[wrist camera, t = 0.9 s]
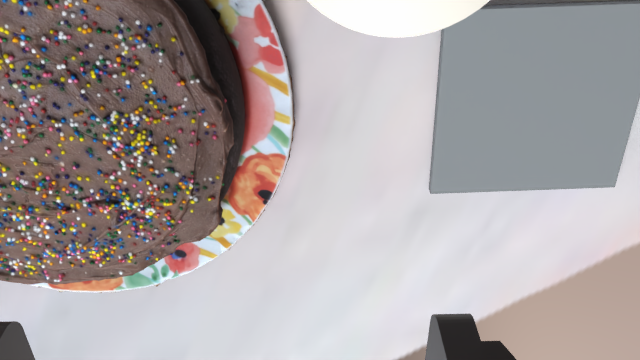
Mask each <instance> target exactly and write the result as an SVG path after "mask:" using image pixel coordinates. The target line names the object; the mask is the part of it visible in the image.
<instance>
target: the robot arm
mask: <svg viewBox="0 0 640 360" xmlns="http://www.w3.org/2000/svg"><path fill="white" fill-rule="evenodd" d="M0 360H35V358H34V356H33V353H32V350H31V348H30V345H29V343H28V340H27V338H26V335H25V333H24V330H23V328H22V326H21V324H20V323H18V322H0ZM425 360H516V359H515V358H514V356H513V355H512V354H511V353H510V352H509V351H508V350H507V348H506V347H505V346H504V345H503V344H502V343H501V342H500V341H481V340H480V337H479V334H478V331H477V328H476V324H475V321H474V319H473V317H472V315H471V314H434V315H432V317H431V321H430V327H429V335H428V342H427V349H426V357H425Z"/></svg>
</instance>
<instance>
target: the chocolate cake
mask: <svg viewBox="0 0 640 360" xmlns="http://www.w3.org/2000/svg"><path fill="white" fill-rule="evenodd" d="M294 126H295V120H294V104H293V98H292V78H291V76H290V74H289V70H288V65H287V56H286V55H285V54H284V51H283V48H282V46H281V44H280V40H279V36H278V32H277V29H276V27H275V25H274V23H273V21H272V19H271V17H270V15H269V12H268V10H267V9H266V7H265V5H264V3H263V0H0V280H2V281H7V282H15V283H23V284H29V285H32V286H38V287H47V288H50V289H54V290H58V291H59V292H63V291H74V292H97V293H102V292H119V291H122V290H131V289H138V288H144V287H149V286H152V285H154V286H158V285H159V284H161V283H163V282H164V281H166V279H173V278H176V277H178V276H181V275H184V274H187V273H190V272H192V271H193V270H195V269H197V268H199V267H201V266H202V265H204V264H206V263H207V262H209V261H211V260H213V259H215V258H216V257H218V256H219V255H220V254H221V253H223V252H224V251H226V250H229V249H230V248H231V247H232V246H233V245H234V244H235V243H236V242H237V241H238V239H239V238H241V237H242V236H243V235H244V234H245V233H246V232H247V231H248V230H249V229H250V228H251V227H252V226H253V225H254V223H255V222H256V221H257V220H258V219H259V217H260V216H261V214H262V213H263V211H264V210H265V208H266V206H267V205H268V203H269V201H270V200H271V199H272V198H273V196H274V194H275V192H276V190H277V188H278V186H279V183H280V181H281V179H282V176H283V174H284V171H285V168H286V164H287V162H288V160H289V157H290V150H291V143H292V141H293V130H294Z"/></svg>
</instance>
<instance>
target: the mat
mask: <svg viewBox="0 0 640 360" xmlns="http://www.w3.org/2000/svg"><path fill="white" fill-rule="evenodd" d="M639 97H640V0H632V1H604V2H576V3H548V4H521V5H493V6H483V7H481V8H480V9H479V10H477V11H476V12H474V13H473V14H471V15H470V16H468V17H467V18H465V19H463V20H461V21H459V22H457V23H455V24H453V25H451V26H449V27H446V28H444V29H442V32H441V45H440V57H439V70H438V82H437V95H436V107H435V120H434V132H433V145H432V157H431V170H430V182H429V190H430V193H431V194H438V193H466V192H493V191H521V190H549V189H576V188H604V187H615V184H616V181H617V177H618V173H619V170H620V166H621V163H622V159H623V155H624V152H625V148H626V144H627V141H628V137H629V134H630V130H631V126H632V123H633V119H634V116H635V112H636V108H637V105H638V101H639Z"/></svg>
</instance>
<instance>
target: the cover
mask: <svg viewBox="0 0 640 360" xmlns="http://www.w3.org/2000/svg"><path fill="white" fill-rule="evenodd" d="M307 1H308V2H309V3H310V4H311V5H312V6H313V7H314V8H316V9H317V10H318V11H319V12H321V13H322V14H323V15H325V16H326V17H328V18H330V19H331V20H333V21H334V22H336V23H338V24H340V25H342V26H344V27H347V28H349V29H351V30H354V31H357V32H361V33H364V34H368V35H374V36H380V37H397V38H401V37H411V36H419V35H423V34H428V33H432V32H435V31H438V30H441V29H444V28H446V27H449V26H451V25H453V24H455V23H457V22H459V21H461V20H463V19H465V18H467V17H468V16H470V15H471V14H473V13H474V12H476V11H477V10H479V9H480V8H481V7H483V6H484V5H485V4H486V3H487V2H489V1H490V0H307Z"/></svg>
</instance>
